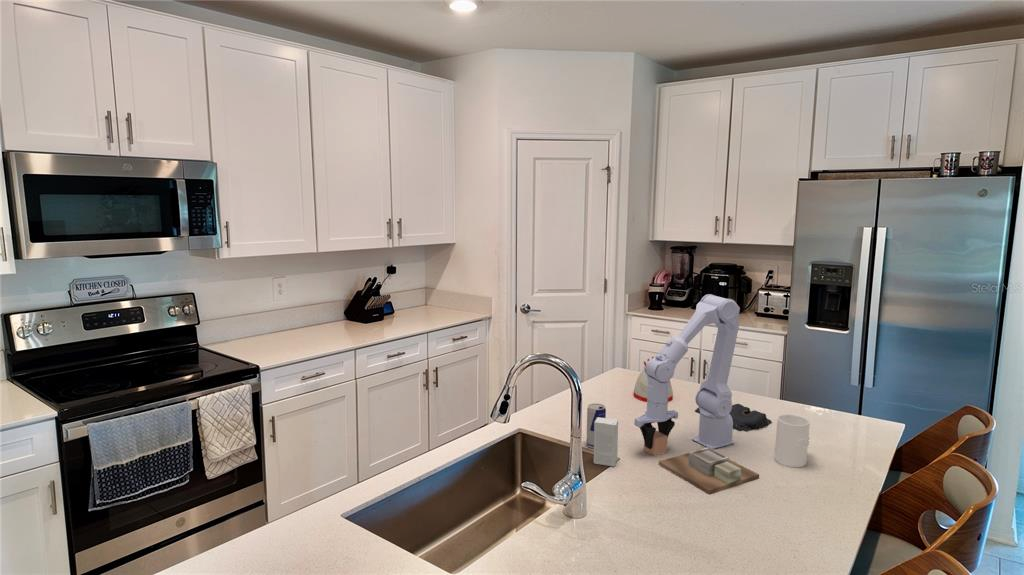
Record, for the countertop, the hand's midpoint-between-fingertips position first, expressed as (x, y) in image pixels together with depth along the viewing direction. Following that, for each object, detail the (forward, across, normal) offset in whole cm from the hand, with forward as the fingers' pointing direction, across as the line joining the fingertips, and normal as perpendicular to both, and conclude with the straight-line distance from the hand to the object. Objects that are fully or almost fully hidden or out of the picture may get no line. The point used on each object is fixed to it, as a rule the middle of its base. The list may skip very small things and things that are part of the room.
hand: (655, 445), depth 167 cm
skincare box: (+2, +17, -1) cm, 17 cm away
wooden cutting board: (+2, -4, +16) cm, 17 cm away
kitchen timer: (+2, -31, -36) cm, 48 cm away
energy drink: (+2, +13, -11) cm, 17 cm away
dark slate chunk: (+2, -41, -8) cm, 42 cm away
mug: (+2, -31, +22) cm, 38 cm away
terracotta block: (+2, 0, 0) cm, 2 cm away
